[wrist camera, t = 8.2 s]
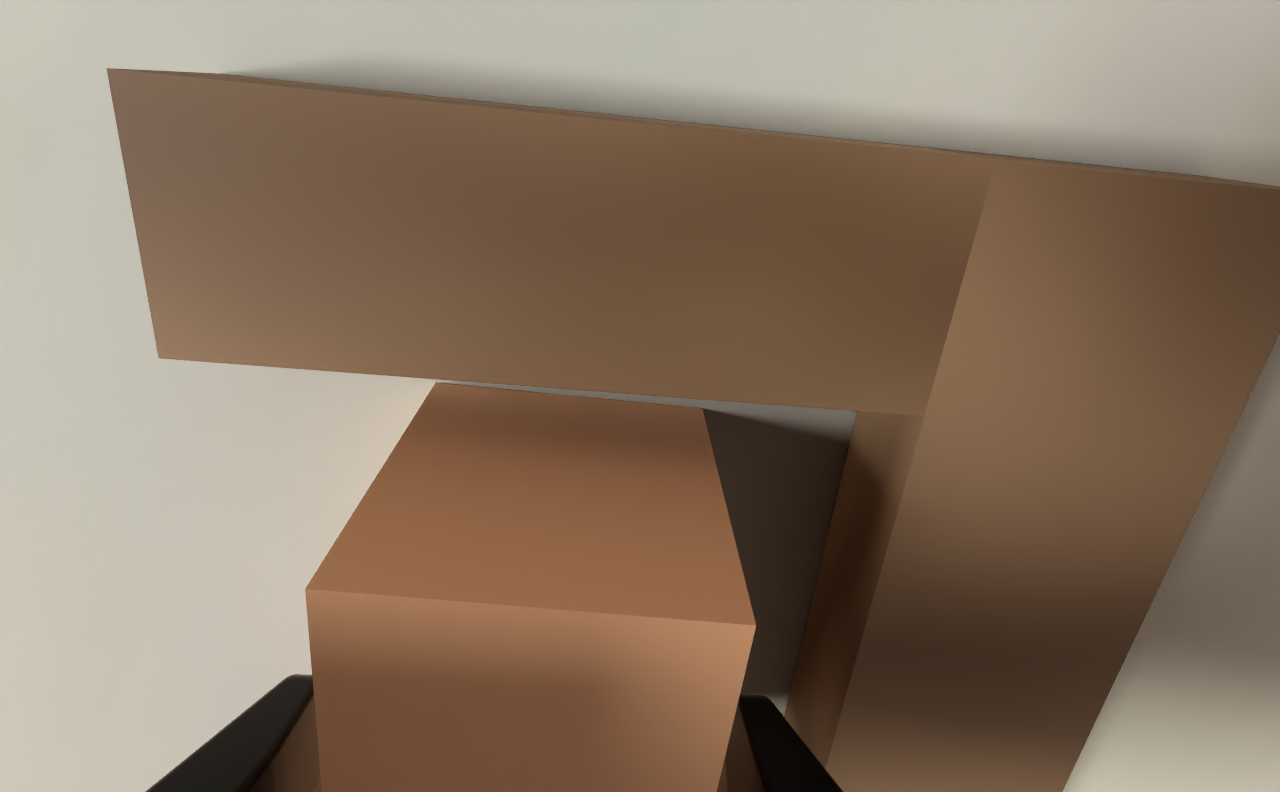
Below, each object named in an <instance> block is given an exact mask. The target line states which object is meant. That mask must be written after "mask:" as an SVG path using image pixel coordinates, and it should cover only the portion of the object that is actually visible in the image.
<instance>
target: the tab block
mask: <svg viewBox="0 0 1280 792" xmlns="http://www.w3.org/2000/svg"><path fill="white" fill-rule="evenodd" d="M305 591H306V603H307V616H308V628H309V640H310V652H311V664H312V676H313V689H314V701H315V713H316V725H317V737H318V750H319V762H320V774H321V786H322V792H717V789H718V784H719V780H720V776H721V772H722V768H723V763H724V759H725V755H726V751H727V746H728V742H729V738H730V734H731V730H732V725H733V721H734V717H735V713H736V709H737V704H738V700H739V696H740V692H741V688H742V683H743V679H744V675H745V671H746V667H747V662H748V658H749V654H750V650H751V646H752V641H753V637H754V633H755V629H756V623H755V619H754V615H753V611H752V606H751V602H750V598H749V594H748V590H747V586H746V582H745V578H744V574H743V570H742V566H741V562H740V558H739V554H738V550H737V546H736V542H735V538H734V534H733V530H732V526H731V522H730V518H729V514H728V510H727V506H726V502H725V498H724V494H723V490H722V486H721V482H720V478H719V474H718V470H717V466H716V462H715V458H714V454H713V450H712V446H711V442H710V437H709V433H708V429H707V425H706V421H705V417H704V413H703V409H702V408H694V407H683V406H673V405H663V404H652V403H642V402H632V401H621V400H611V399H601V398H590V397H580V396H570V395H559V394H549V393H539V392H528V391H518V390H508V389H497V388H487V387H477V386H466V385H456V384H446V383H435V385H434V386H433V388H432V389H431V391H430V393H429V394H428V396H427V397H426V399H425V401H424V402H423V404H422V405H421V407H420V408H419V410H418V412H417V413H416V415H415V416H414V418H413V420H412V421H411V423H410V424H409V426H408V427H407V429H406V431H405V432H404V434H403V435H402V437H401V439H400V440H399V442H398V443H397V445H396V446H395V448H394V450H393V451H392V453H391V454H390V456H389V457H388V459H387V461H386V462H385V464H384V465H383V467H382V469H381V470H380V472H379V473H378V475H377V476H376V478H375V480H374V481H373V483H372V484H371V486H370V488H369V489H368V491H367V492H366V494H365V495H364V497H363V499H362V500H361V502H360V503H359V505H358V507H357V508H356V510H355V511H354V513H353V514H352V516H351V518H350V519H349V521H348V522H347V524H346V525H345V527H344V529H343V530H342V532H341V533H340V535H339V537H338V538H337V540H336V541H335V543H334V544H333V546H332V548H331V549H330V551H329V552H328V554H327V556H326V557H325V559H324V560H323V562H322V563H321V565H320V567H319V568H318V570H317V571H316V573H315V575H314V576H313V578H312V579H311V581H310V582H309V584H308V586H307V587H306V589H305Z"/></svg>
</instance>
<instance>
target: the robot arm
mask: <svg viewBox="0 0 1280 792" xmlns="http://www.w3.org/2000/svg"><path fill="white" fill-rule="evenodd" d="M725 764H726V776H727V787H728V792H843V791H842V789H841V788H840V787H839V786H838V784H837V783H836V782H835V781H834V779H833V778H832V777H831V775H830V774H829V773H828V772H827V770H826V769H825V768H824V767H823V765H822V764H821V763H820V762H819V760H818V759H817V758H816V757H815V755H814V754H813V753H812V752H811V750H810V749H809V748H808V747H807V745H806V744H805V743H804V742H803V740H802V739H801V738H800V737H799V735H798V734H797V733H796V732H795V730H794V729H793V728H792V727H791V725H790V724H789V723H788V722H787V720H786V719H785V718H784V717H783V715H782V714H781V713H780V712H779V710H778V709H777V708H776V706H775V705H774V704H773V703H772V701H771V700H770V699H768V698H767V697H765V696H760V695H740V696H739V700H738V704H737V709H736V713H735V717H734V721H733V725H732V730H731V734H730V738H729V742H728V746H727V751H726V755H725ZM319 773H320V762H319V750H318V737H317V725H316V713H315V701H314V689H313V676H312V675H300V674H295V675H291V676H289V677H287V678H285V679H284V680H283V681H282V682H280V683H279V684H278V685H277V686H275V687H274V688H273V689H272V690H270V691H269V692H268V693H267V694H265V695H264V696H263V697H262V698H261V699H259V700H258V701H257V702H256V703H254V704H253V705H252V706H251V707H249V708H248V709H247V710H246V711H245V712H243V713H242V714H241V715H240V716H238V717H237V718H236V719H235V720H233V721H232V722H231V723H230V724H228V725H227V726H226V727H225V728H224V729H222V730H221V731H220V732H219V733H217V734H216V735H215V736H214V737H212V738H211V739H210V740H209V741H208V742H206V743H205V744H204V745H203V746H201V747H200V748H199V749H198V750H196V751H195V752H194V753H193V754H191V755H190V756H189V757H188V758H187V759H185V760H184V761H183V762H182V763H180V764H179V765H178V766H177V767H175V768H174V769H173V770H172V771H170V772H169V773H168V774H167V775H166V776H164V777H163V778H162V779H161V780H159V781H158V782H157V783H156V784H154V785H153V786H152V787H151V788H150V789H148V790H147V791H146V792H314V789H315V786H316V783H317V780H318V776H319Z"/></svg>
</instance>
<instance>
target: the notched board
mask: <svg viewBox="0 0 1280 792" xmlns="http://www.w3.org/2000/svg"><path fill="white" fill-rule="evenodd" d="M107 73H108V78H109V84H110V90H111V95H112V101H113V106H114V112H115V117H116V123H117V128H118V134H119V140H120V145H121V151H122V156H123V162H124V167H125V173H126V179H127V184H128V190H129V195H130V201H131V206H132V212H133V217H134V223H135V229H136V234H137V240H138V245H139V251H140V256H141V262H142V268H143V273H144V279H145V284H146V290H147V295H148V301H149V306H150V312H151V318H152V323H153V329H154V334H155V340H156V345H157V351H158V357H159V358H162V359H176V360H189V361H202V362H215V363H229V364H242V365H255V366H268V367H282V368H295V369H308V370H321V371H335V372H348V373H361V374H374V375H388V376H401V377H414V378H427V379H441V380H454V381H467V382H480V383H494V384H507V385H520V386H533V387H547V388H560V389H573V390H586V391H600V392H613V393H626V394H639V395H653V396H666V397H679V398H692V399H706V400H719V401H732V402H745V403H759V404H772V405H785V406H798V407H812V408H825V409H838V410H851V411H857V415H856V419H855V423H854V427H853V432H852V436H851V440H850V444H849V448H848V453H847V457H846V461H845V465H844V469H843V473H842V478H841V482H840V486H839V490H838V494H837V498H836V503H835V507H834V511H833V515H832V519H831V524H830V528H829V532H828V536H827V540H826V544H825V549H824V553H823V557H822V561H821V565H820V569H819V574H818V578H817V582H816V586H815V590H814V595H813V599H812V603H811V607H810V611H809V615H808V620H807V624H806V628H805V632H804V636H803V641H802V645H801V649H800V653H799V657H798V661H797V666H796V670H795V674H794V678H793V682H792V686H791V691H790V695H789V699H788V703H787V707H786V712H785V716H784V718H785V719H786V720H787V722H788V723H789V724H790V725H791V727H792V728H793V729H794V730H795V732H796V733H797V734H798V735H799V737H800V738H801V739H802V740H803V742H804V743H805V744H806V745H807V747H808V748H809V749H810V750H811V752H812V753H813V754H814V755H815V757H816V758H817V759H818V760H819V762H820V763H821V764H822V765H823V767H824V768H825V769H826V770H827V772H828V773H829V774H830V775H831V777H832V778H833V779H834V781H835V782H836V783H837V784H838V786H839V787H840V788H841V789H842V791H843V792H1062V791H1063V789H1064V787H1065V785H1066V783H1067V780H1068V778H1069V776H1070V774H1071V772H1072V770H1073V768H1074V766H1075V764H1076V761H1077V759H1078V757H1079V755H1080V753H1081V751H1082V749H1083V747H1084V745H1085V742H1086V740H1087V738H1088V736H1089V734H1090V732H1091V730H1092V728H1093V726H1094V723H1095V721H1096V719H1097V717H1098V715H1099V713H1100V711H1101V709H1102V707H1103V704H1104V702H1105V700H1106V698H1107V696H1108V694H1109V692H1110V690H1111V688H1112V685H1113V683H1114V681H1115V679H1116V677H1117V675H1118V673H1119V671H1120V669H1121V666H1122V664H1123V662H1124V660H1125V658H1126V656H1127V654H1128V652H1129V650H1130V647H1131V645H1132V643H1133V641H1134V639H1135V637H1136V635H1137V633H1138V631H1139V628H1140V626H1141V624H1142V622H1143V620H1144V618H1145V616H1146V614H1147V612H1148V609H1149V607H1150V605H1151V603H1152V601H1153V599H1154V597H1155V595H1156V593H1157V590H1158V588H1159V586H1160V584H1161V582H1162V580H1163V578H1164V576H1165V573H1166V571H1167V569H1168V567H1169V565H1170V563H1171V561H1172V559H1173V557H1174V554H1175V552H1176V550H1177V548H1178V546H1179V544H1180V542H1181V540H1182V538H1183V535H1184V533H1185V531H1186V529H1187V527H1188V525H1189V523H1190V521H1191V519H1192V516H1193V514H1194V512H1195V510H1196V508H1197V506H1198V504H1199V502H1200V500H1201V497H1202V495H1203V493H1204V491H1205V489H1206V487H1207V485H1208V483H1209V481H1210V478H1211V476H1212V474H1213V472H1214V470H1215V468H1216V466H1217V464H1218V462H1219V459H1220V457H1221V455H1222V453H1223V451H1224V449H1225V447H1226V445H1227V443H1228V440H1229V438H1230V436H1231V434H1232V432H1233V430H1234V428H1235V426H1236V424H1237V421H1238V419H1239V417H1240V415H1241V413H1242V411H1243V409H1244V407H1245V405H1246V402H1247V400H1248V398H1249V396H1250V394H1251V392H1252V390H1253V388H1254V386H1255V383H1256V381H1257V379H1258V377H1259V375H1260V373H1261V371H1262V369H1263V367H1264V364H1265V362H1266V360H1267V358H1268V356H1269V354H1270V352H1271V350H1272V348H1273V345H1274V343H1275V341H1276V339H1277V337H1278V335H1279V333H1280V187H1276V186H1269V185H1262V184H1255V183H1248V182H1241V181H1234V180H1227V179H1220V178H1213V177H1206V176H1196V175H1187V174H1177V173H1167V172H1158V171H1148V170H1139V169H1129V168H1119V167H1110V166H1100V165H1090V164H1081V163H1071V162H1061V161H1052V160H1042V159H1033V158H1023V157H1013V156H1004V155H994V154H984V153H975V152H965V151H956V150H946V149H936V148H927V147H917V146H907V145H898V144H888V143H879V142H869V141H859V140H850V139H840V138H830V137H821V136H811V135H801V134H792V133H782V132H773V131H763V130H753V129H744V128H734V127H724V126H715V125H705V124H696V123H686V122H676V121H667V120H657V119H647V118H638V117H628V116H619V115H609V114H599V113H590V112H580V111H570V110H561V109H551V108H541V107H532V106H522V105H513V104H503V103H493V102H484V101H474V100H464V99H455V98H445V97H436V96H426V95H416V94H407V93H397V92H387V91H378V90H368V89H359V88H349V87H339V86H330V85H320V84H310V83H301V82H291V81H281V80H272V79H262V78H253V77H243V76H233V75H224V74H214V73H194V72H172V71H151V70H130V69H109V68H107ZM314 792H322V786H321V774H320V773H319V776H318V780H317V783H316V786H315V789H314ZM717 792H728V787H727V776H726V764H725V759H724V763H723V768H722V772H721V776H720V780H719V784H718V789H717Z"/></svg>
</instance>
